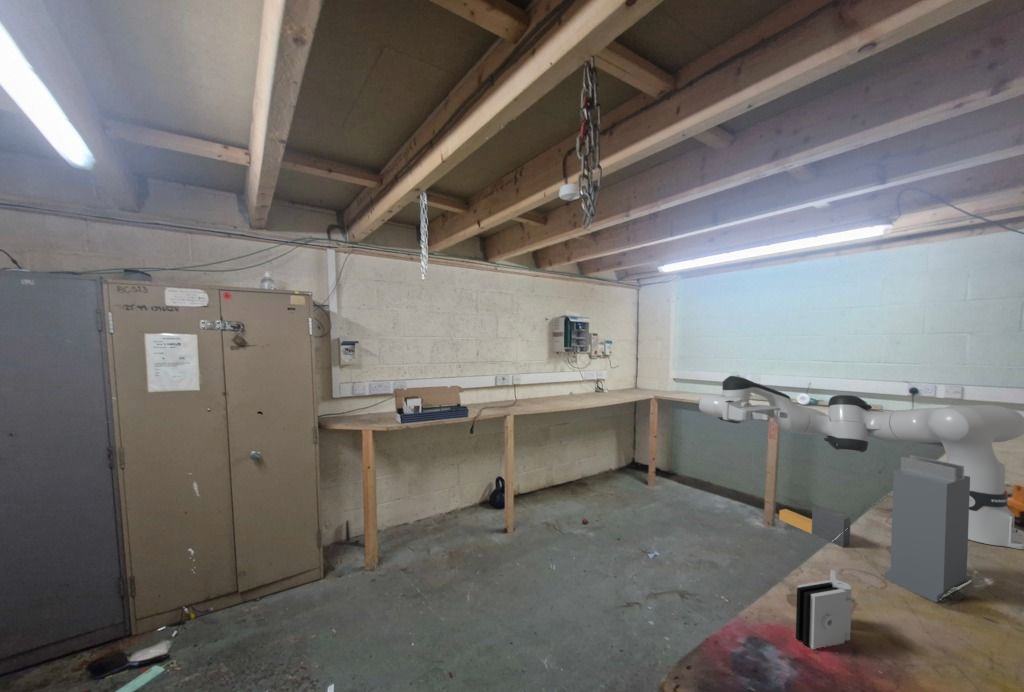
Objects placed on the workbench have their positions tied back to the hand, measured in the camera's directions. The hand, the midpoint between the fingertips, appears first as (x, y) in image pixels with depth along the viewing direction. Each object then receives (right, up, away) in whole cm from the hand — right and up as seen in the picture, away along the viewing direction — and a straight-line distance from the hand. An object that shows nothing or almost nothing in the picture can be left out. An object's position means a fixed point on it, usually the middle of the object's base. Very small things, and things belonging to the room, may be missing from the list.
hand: (777, 416), depth 128 cm
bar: (+1, -32, -13) cm, 35 cm away
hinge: (-29, -33, -54) cm, 69 cm away
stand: (+10, -33, -37) cm, 50 cm away
